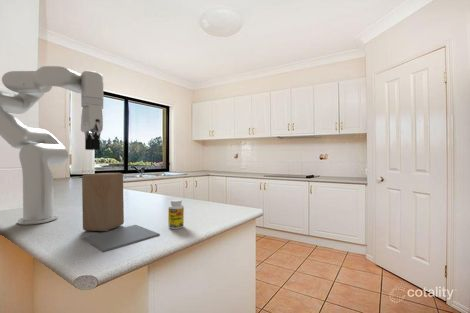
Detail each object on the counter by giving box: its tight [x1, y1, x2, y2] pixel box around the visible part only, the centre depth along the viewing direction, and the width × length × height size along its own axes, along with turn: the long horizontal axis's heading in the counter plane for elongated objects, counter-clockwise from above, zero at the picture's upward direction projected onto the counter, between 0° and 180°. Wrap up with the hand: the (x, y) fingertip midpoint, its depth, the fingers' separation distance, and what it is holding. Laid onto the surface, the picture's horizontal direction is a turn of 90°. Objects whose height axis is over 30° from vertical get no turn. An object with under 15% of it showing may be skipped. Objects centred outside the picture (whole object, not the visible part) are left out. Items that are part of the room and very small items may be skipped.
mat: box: [82, 224, 161, 253], centre depth 79 cm, size 16×18×1 cm
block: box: [81, 172, 125, 232], centre depth 88 cm, size 10×10×20 cm
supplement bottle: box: [167, 199, 185, 230], centre depth 89 cm, size 6×6×10 cm
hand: (92, 149), depth 94 cm, fingers open, 4 cm apart
